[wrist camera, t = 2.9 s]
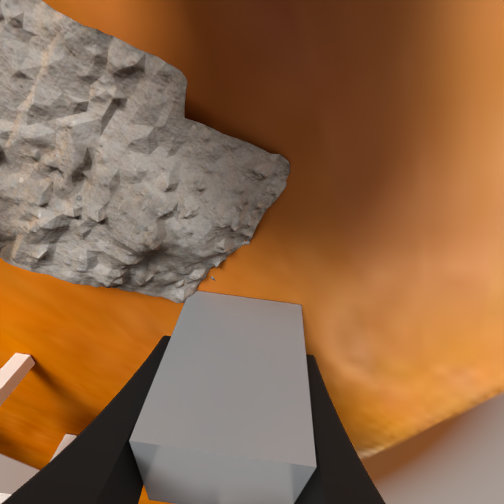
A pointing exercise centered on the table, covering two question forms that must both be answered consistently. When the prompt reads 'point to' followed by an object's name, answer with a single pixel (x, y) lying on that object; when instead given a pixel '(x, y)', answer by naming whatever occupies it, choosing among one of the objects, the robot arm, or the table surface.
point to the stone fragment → (115, 163)
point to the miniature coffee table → (7, 380)
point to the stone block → (229, 406)
